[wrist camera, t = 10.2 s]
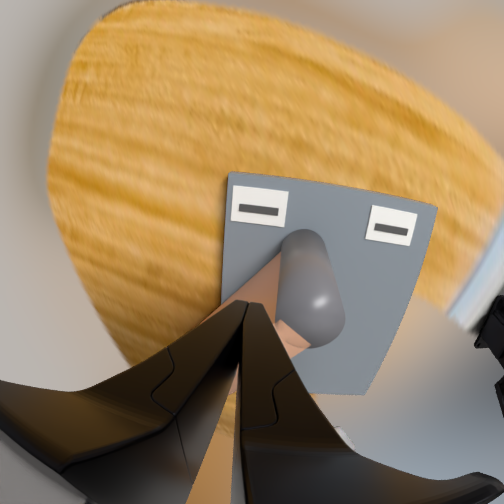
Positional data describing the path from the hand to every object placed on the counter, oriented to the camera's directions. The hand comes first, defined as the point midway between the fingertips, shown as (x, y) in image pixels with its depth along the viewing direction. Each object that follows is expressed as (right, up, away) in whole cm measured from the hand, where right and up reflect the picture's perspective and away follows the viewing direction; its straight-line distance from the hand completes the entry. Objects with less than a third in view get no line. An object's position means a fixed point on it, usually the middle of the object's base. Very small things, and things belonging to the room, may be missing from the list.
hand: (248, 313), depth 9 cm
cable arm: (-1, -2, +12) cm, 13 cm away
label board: (+5, -2, +13) cm, 14 cm away
